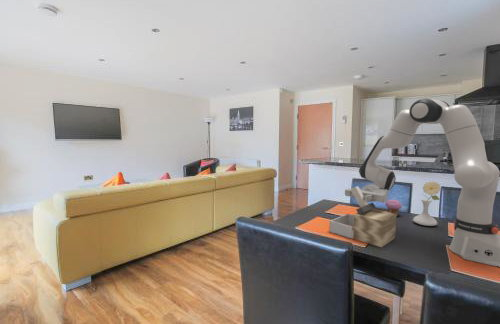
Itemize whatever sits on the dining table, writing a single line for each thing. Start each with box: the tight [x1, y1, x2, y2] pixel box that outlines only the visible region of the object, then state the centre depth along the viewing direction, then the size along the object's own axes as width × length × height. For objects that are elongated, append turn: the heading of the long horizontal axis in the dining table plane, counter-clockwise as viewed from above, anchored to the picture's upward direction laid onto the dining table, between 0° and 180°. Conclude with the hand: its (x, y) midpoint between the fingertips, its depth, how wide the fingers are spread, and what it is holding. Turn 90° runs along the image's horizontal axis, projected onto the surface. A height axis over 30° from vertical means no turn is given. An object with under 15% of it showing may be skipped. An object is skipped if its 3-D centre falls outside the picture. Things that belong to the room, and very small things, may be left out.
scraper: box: [350, 185, 376, 214], centre depth 127 cm, size 3×13×12 cm
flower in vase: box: [412, 180, 442, 227], centre depth 142 cm, size 13×11×25 cm
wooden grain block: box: [352, 208, 397, 248], centre depth 123 cm, size 13×16×12 cm
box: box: [329, 213, 354, 240], centre depth 133 cm, size 12×18×6 cm, turn 131°
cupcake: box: [385, 199, 402, 217], centre depth 160 cm, size 9×9×10 cm
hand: (358, 196), depth 127 cm, fingers closed on scraper, 5 cm apart
